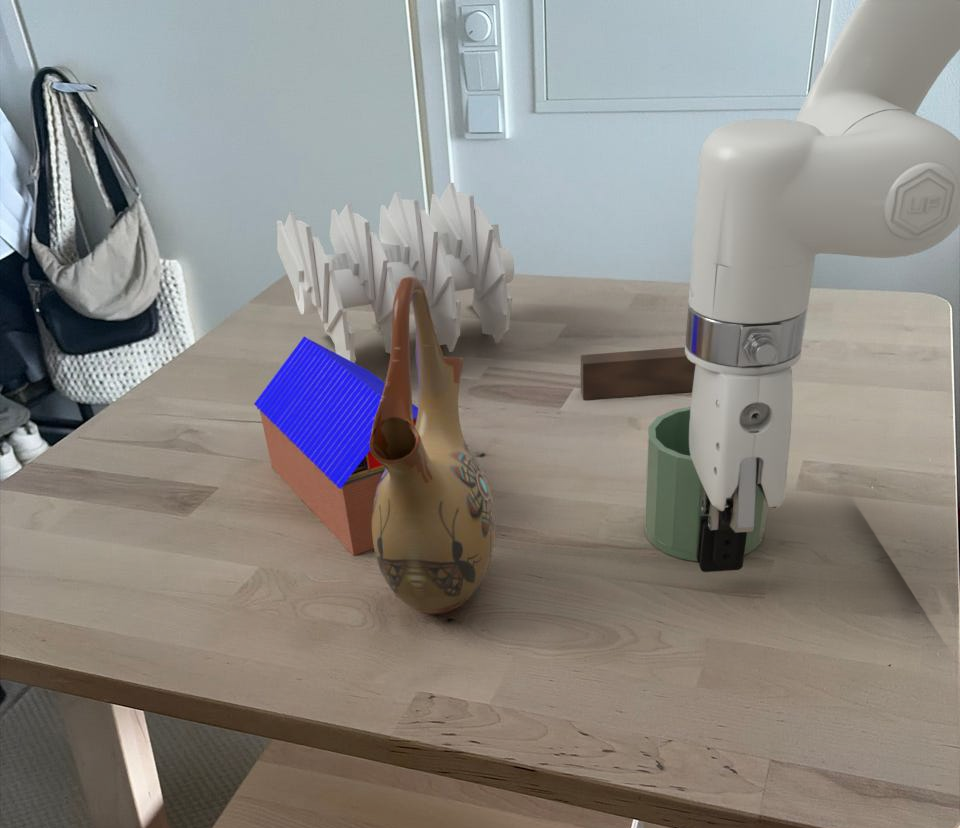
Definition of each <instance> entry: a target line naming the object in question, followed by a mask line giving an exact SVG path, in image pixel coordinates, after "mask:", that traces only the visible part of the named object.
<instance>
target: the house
mask: <svg viewBox="0 0 960 828" xmlns="http://www.w3.org/2000/svg"><path fill="white" fill-rule="evenodd" d="M384 386H385V381H383V380H382V379H380V378H379V377H378V376H377V375H375V374H374V373H372V372H371V371H370V370H368V369H366V368H364V367H362V366H360V365H359V364H357V363H356V362H355V363H353V362H351V361H349V360H347V359H345V358H344V357H342V356H340V355H338V354H336V352H335V351H333V350H330V349H328V348H327V347H325V346H323V345H321V344H319V343H318V342H315V341H313V340H311V339H310V338H308V337H306V336H303V337H302V338H301V340H300V341H299V342H298V343H297V345H296V347H295V348H294V349H293V350H292V352H291V353H290V355H289V356H288V357H287V359H286V360H285V362H284V363H283V364H282V365H281V367H280V368H279V370H278V371H277V372H276V374H275V375H274V376H273V378H272V379H271V380H270V382H269V383H268V384H267V385H266V387H265V388H264V390H263V391H262V393H261V394H260V395H259V397H258V398H257V399H256V401H255V402H254V403H253V404H254V406H255V407H256V409H257V411H258V410H259V413H260V416H261V422H262V427H263V432H264V437H265V441H266V446H267V451H268V456H269V461H270V465H271V468H272V470H274V472H276V474H277V475H278V476H279V477H280V478H281V479H282V480H283V481H284V482H285V483H286V484H287V486H288V488H290V489H291V490H292V491H293V493H295V494H296V495H297V496H298V497H299V498H300V499H301V501H302V502H303V503H304V504H305V505H306V506H307V507H308V508H309V509H310V510H311V511H312V513H313V514H314V515H315V516H316V517H317V518H318V519H319V520H320V521H321V522H322V523H323V524H324V525H325V527H326V528H327V529H328V530H329V531H330V532H331V533H332V534H333V535H334V536H335V538H337V539H338V541H340V543H341V544H342V545H343V546H344V547H345V548H346V549H347V551H349V552H350V554H351V555H352V556H358V555H360V554H363V553H366V552H368V551H371V550H374V545H373V538H372V510H373V503H374V498H375V493H376V490H377V486H378V484H379V481H380V478H381V476H382V474H383V472H384V470H385V466H384V465H382V464H381V463H380V462H379V461H377V460H376V459H375V458H374V456H373V455H372V453H371V451H370V447H369V442H370V437H371V432H372V426H373V422H374V419H375V416H376V413H377V410H378V407H379V403H380V400H381V397H382V393H383V390H384ZM412 412H413V422H414V426H415V425H416V420H417V414H418V406H417V405H415V404H413V403H412ZM466 445H467V447H469V445H468V444H467V443H466Z"/></svg>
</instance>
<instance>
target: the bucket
mask: <svg viewBox="0 0 960 828" xmlns="http://www.w3.org/2000/svg"><path fill="white" fill-rule="evenodd" d="M690 410H691V405H690V406H686V407H680V408H676V409H672V410H670V411H668V412H665V413H664V414H662V415H659V416H657V417H656V418H655V419H654V420H653V421H652V422H651V423H650V425H649V426H648V427H647V447H646V467H645V469H646V471H645V472H646V473H645V493H644V494H645V495H644V496H645V497H644V534H645V537H646V538H647V540H648V541H649V543H651V545H652V546H653V547H655V548H656V549H657V550H658V551H661V552H662V553H664V554H666V555H668V556H671V557H674V558H677V559H681V560H686V561H690V562H698V561H697V558H696V556H697V545H698V534H699V523H700V516H708V514H704V515H703V514H702V510H701V497H702V483H701V480H700V478H699V476H698V473H697V471H696V469H695V466H694V464H693V461H692V459H691V455H690V450H689V422H690ZM768 511H769V506H768V505H767V503H766V501H765V499H764V497H763V495H762V493H761V491H760V489H759V487H758V486H757V485H756V499H755V519H754V530H753V532H747V536H746V544H745V552H744V556H745V555H747V554H749V553H751V552H753V551H754V550H756V548H758V546H759V545H760V544H761V543H762V541H763V539H764V536H765V535H764V534H765V529H766V528H767V519H768Z"/></svg>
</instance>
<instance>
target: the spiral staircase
mask: <svg viewBox="0 0 960 828" xmlns="http://www.w3.org/2000/svg"><path fill="white" fill-rule="evenodd" d="M430 199H431V200H430V208H429V215H428V213H427V211H426V210H425V209H421V210H420V205H419V200H418V199H417V200H416V199H403V197H402V194H401V190H395V191H394V193H393V196H392V199H391V201H390V204H389V206H388V208H387V206H386V205H385V204H381V205H380V209H379V228H378V229H379V231H378V234H377V232H376V231H371V229H370V228H371V227H370V221H369V220H368V219H366V218H365V217H363V216H362V215H361V214H359V213H358V212H354V209H353V205H352V203H346V204H345V206H344V207H343V209H342V211H341V212H340V214H338V211H337V209H336V208H335V209H331V210H330V211H331V213H330V224H329V225H330V226H329V240H330V243H331V245H332V248H333V250H334V253H329V254H326V252H325V250H324V247H323V245H322V243H321V242H320V239H319V237H318V235H315V236H313V235H312V227H311V226H310V225H309V224H307V223H306V222H304V221H302V220H299V219H298V220H297V217H296V212H295V210H290V211H289V212H288V215H287V218H286V220H285V224H284V223H283V221H282V219H279V220H276V245H277V246H276V248H277V249H276V251H277V254H278V256H279V258H280V260H281V263H282V265H283V267H284V270H285V272H286V275H287V276H288V279H289V282H290V284H291V286H292V289H293V294H294V298H295V299H294V300H295V303H296V306H297V309H298V312H299V313H300V314H301V316H305V315H310V314H316V313H317V314H318V317H319V319H320V321H321V323H322V326H323V331H324V333H325V334H326V335H328V336H329V337H330V339H331V340H332V342H333V344H334V352H335V353H336V354H338V355H340V356H342V357H344V358H345V359H347V360H349V361H351V362H353V363H355V364H356V361H357V358H356V355H355V332H354V330H353V329H352V327H351V324H350V323H349V321H348V314H347V310H345V309H349V308H356V307H362V306H369V305H370V307H371V308H372V310H373V313H374V317H375V323H376V324H377V325H378V326H379V328H380V330H381V332H382V337H383V345H384V351H385V353H387V354H389V355H390V354H391V342H392V310H393V302H394V297H395V294H396V291H397V288H398V286H399V283H400V281H401V279H403V278H406V277H416V278H418V279H419V280H420V281H421V283H422V284H423V286H424V289H425V292H426V296H427V300H428V304H429V308H430V312H431V317H432V321H433V325H434V329H435V332H436V336H437V339H438V342H439V345H440V346H442V345H443V346H444V345H446V347H447V350H448V352H449V353H451V352H454V350H455V347H456V345H457V343H458V340H459V337H461V315H462V301H461V299H459V297H458V296H457V295H456V292H458V291H464V290H472V289H473V293H472V294H473V295H472V306H471V307H472V309H473V311H475V313H476V314H477V316H478V317H479V318H480V323H481V324H480V325H481V331H482V335H492V337H493V341H494V343H495V344H498V343H500V342H501V340H502V339H503V337H504V335H505V333H506V332H508V331H510V322H511V313H512V303H513V297H512V296H511V294H509V292H508V284H509V283H511V282H512V281H513V280H514V276H515V261H514V257H513V253H512V252H511V249H510V248H509V247H508V246H506V245H505V246H502V245H501V238H500V237H501V235H500V227H499V224H498V223H496V224H491V222H490V221H489V219H488V218H487V216H486V214H485V212H484V210H483V209H482V207H481V206H480V204H477V205H475V198H474V195H473V194H469V193H467V192H463V191H456V186H455V183H454V182H449V183H448V185H447V187H446V188H445V189H444V191H443V193H442V194H441V196H440V198H439V196H438V194H437V193H432V194H431V198H430Z"/></svg>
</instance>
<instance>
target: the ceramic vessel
mask: <svg viewBox="0 0 960 828" xmlns="http://www.w3.org/2000/svg"><path fill="white" fill-rule="evenodd" d="M411 306H412V312H413V317H414V324H415V350H414V351H415V352H414V359H415V363H416V370H417V380H418V403H417V404H418V405H417V407H418V414H417V420H416V425H415V426H414V422H413V412H412V404H413V396H412V378H411V377H412V376H411V356H410V355H411V354H410V353H411V352H410V315H411V313H410V312H411ZM463 365H464V358H463V357H457V356H444V354H443V350H442V347H441V345H439V342H438V339H437V336H436V331H435V329H434V325H433V321H432V317H431V312H430V308H429V304H428V300H427V296H426V292H425V289H424V286H423V284H422V283H421V281H420V280H419V279H418V278H416V277H406V278H403V279H401V281H400V283H399V286H398V288H397V291H396V294H395V297H394V302H393V310H392V342H391V354H389V362H388V368H387V373H386V377H385V381H384V383H385V386H384V390H383V393H382V397H381V400H380V403H379V407H378V410H377V413H376V416H375V419H374V422H373V426H372V432H371V437H370V442H369V447H370V451H371V453H372V455H373V456H374V458H375V459H376V460H377V461H379V462H380V463H381V464H382V465H384V466H385V467H384V468H385V470H384V472H383V474H382V476H381V478H380V481H379V484H378V486H377V490H376V493H375V498H374V503H373V510H372V538H373V545H374V549H373V550H374V555H375V558H376V561H377V564H378V567H379V569H380V572H381V575H382V576H383V578H384V580H385V582H386V583H387V585H388V587H389V588H390V590H391V591H392V592H393V594H394V595H395V596H397V598H398V599H399V600H400V601H401V602H403V603H404V604H405V605H407V606H408V607H410V608H411V609H414V610H415V611H418V612H421V613H424V614H429V615H441V614H442V615H443V614H446V613H449V612H452V611H454V610H455V609H457V608H459V607H460V606H461V605H463V604H464V603H465V602H466V601H467V600H469V599H470V597H471V596H473V594H474V593H475V592H476V590H477V589H478V587H479V586H480V584H481V583H482V581H483V579H484V577H485V576H486V573H487V571H488V569H489V566H490V563H491V559H492V555H493V551H494V546H495V538H496V537H495V536H496V513H495V512H496V511H495V505H494V500H493V496H492V492H491V488H490V485H489V483H488V479H487V478H486V475H485V473H484V471H483V469H482V467H481V466H480V465H479V463H478V461H477V460H476V458H475V457H474V455H473V454H472V452H471V451H470V449H469V446H467V445H468V444H467V443H466V441H465V438H464V435H463V431H462V427H461V421H460V415H459V390H460V383H461V378H462V377H461V376H462V372H463ZM466 444H467V445H466Z"/></svg>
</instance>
